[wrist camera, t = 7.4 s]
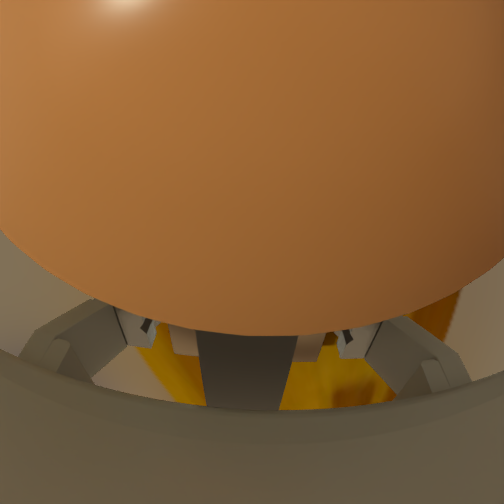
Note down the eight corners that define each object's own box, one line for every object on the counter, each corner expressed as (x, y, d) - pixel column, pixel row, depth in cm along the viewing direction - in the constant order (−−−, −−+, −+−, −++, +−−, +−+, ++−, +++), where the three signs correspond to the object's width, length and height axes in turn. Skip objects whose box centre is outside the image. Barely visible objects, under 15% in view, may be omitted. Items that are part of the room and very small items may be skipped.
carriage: (197, 164, 11) (110, 269, 5) (314, 171, 11) (389, 284, 5) (201, 279, 14) (165, 418, 8) (297, 285, 14) (317, 427, 8)
